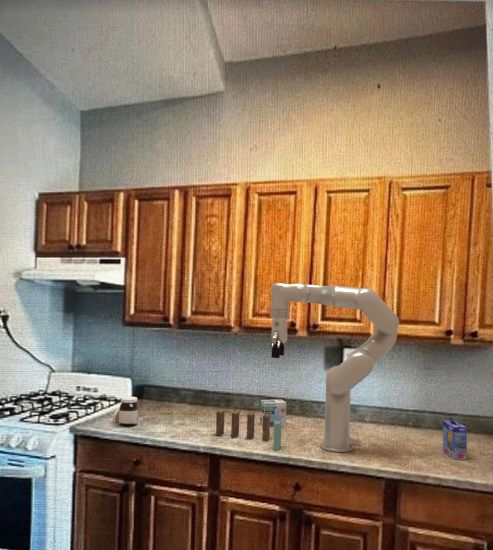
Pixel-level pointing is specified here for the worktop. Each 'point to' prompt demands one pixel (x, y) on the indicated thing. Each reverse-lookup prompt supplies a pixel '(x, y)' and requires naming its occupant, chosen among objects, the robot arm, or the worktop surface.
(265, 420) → the walnut domino
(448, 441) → the ink cartridge box
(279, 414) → the light bulb box
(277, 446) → the teal domino
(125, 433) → the worktop surface
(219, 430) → the walnut domino
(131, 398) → the spread jar
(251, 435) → the walnut domino
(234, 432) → the walnut domino
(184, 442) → the worktop surface
